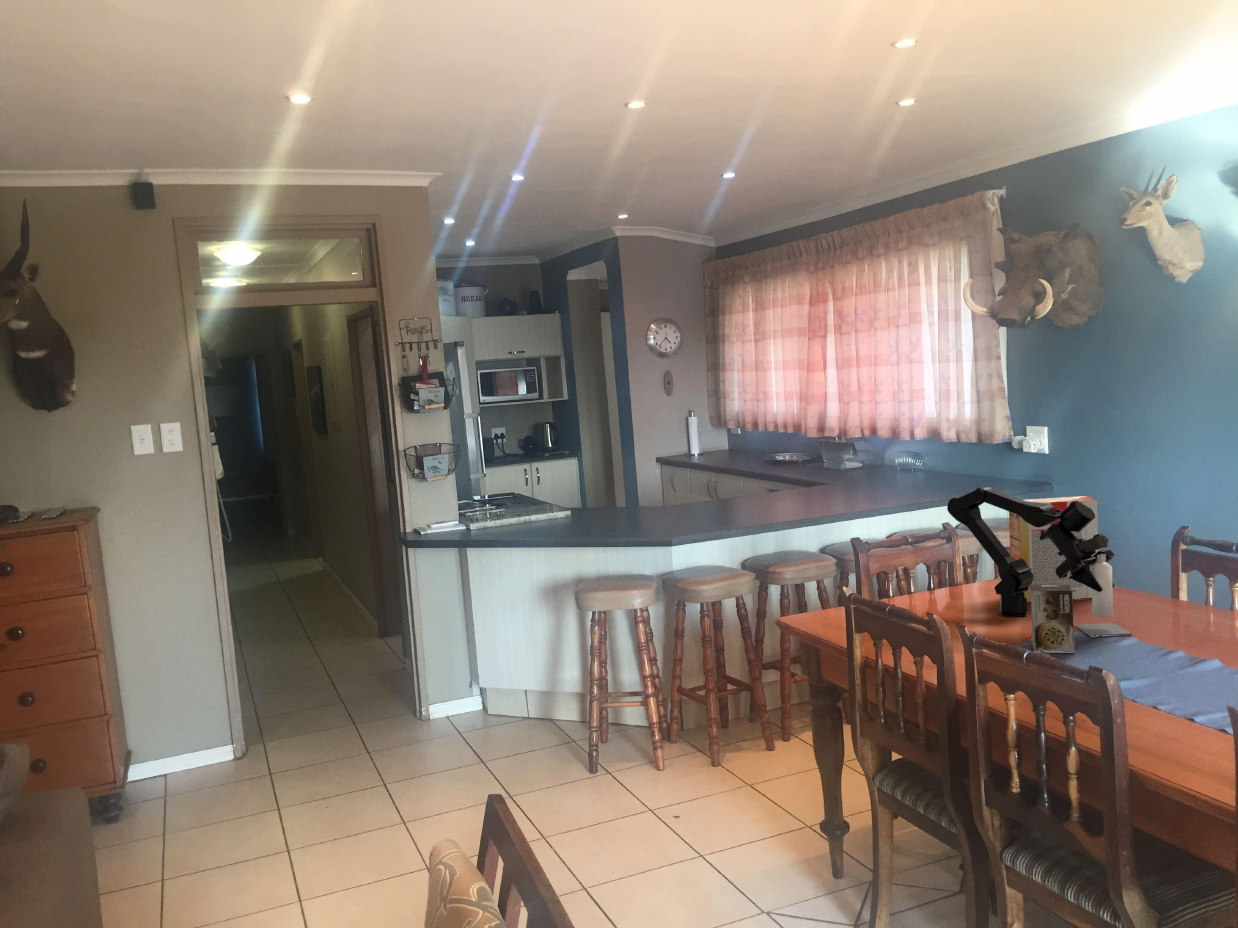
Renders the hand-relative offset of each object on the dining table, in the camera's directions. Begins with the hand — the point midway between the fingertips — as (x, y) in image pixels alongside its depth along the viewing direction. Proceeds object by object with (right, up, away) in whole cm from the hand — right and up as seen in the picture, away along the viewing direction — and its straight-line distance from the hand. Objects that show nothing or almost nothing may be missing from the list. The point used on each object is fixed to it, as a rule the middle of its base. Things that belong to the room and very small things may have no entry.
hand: (1107, 589), depth 235 cm
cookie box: (-19, -14, -11) cm, 26 cm away
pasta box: (+5, -8, +39) cm, 41 cm away
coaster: (0, -11, +2) cm, 12 cm away
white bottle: (0, -7, +2) cm, 7 cm away
